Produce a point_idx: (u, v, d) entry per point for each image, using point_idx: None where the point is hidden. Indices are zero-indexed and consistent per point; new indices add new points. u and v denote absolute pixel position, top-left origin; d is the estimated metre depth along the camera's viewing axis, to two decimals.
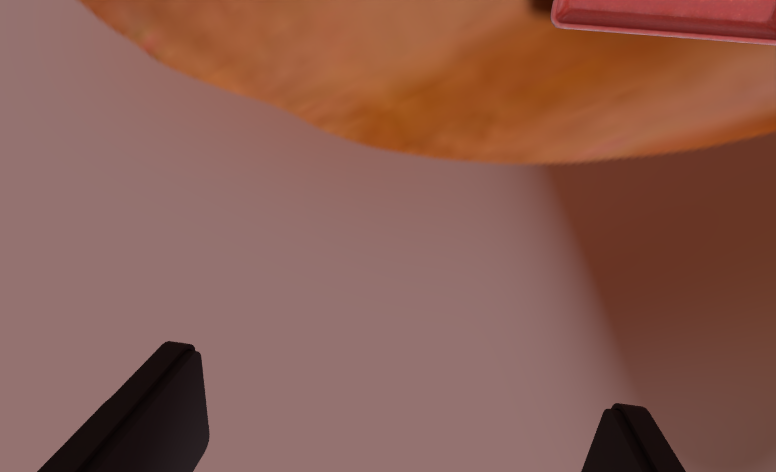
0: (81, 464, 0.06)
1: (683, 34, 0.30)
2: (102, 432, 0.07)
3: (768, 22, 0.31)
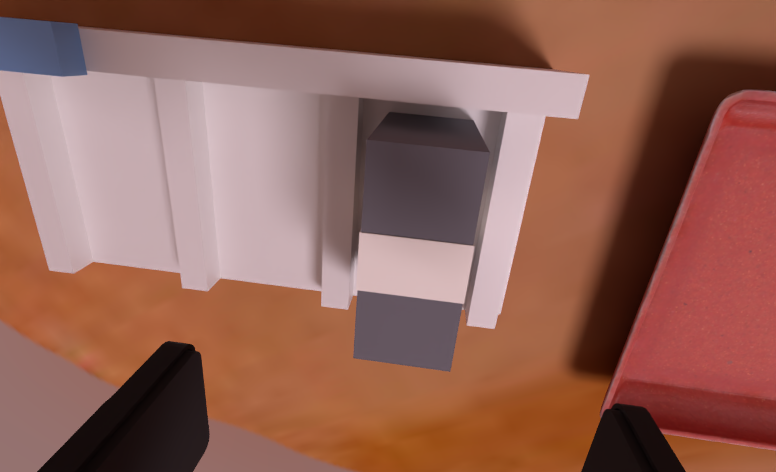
0: (82, 464, 0.06)
1: None
2: (102, 432, 0.07)
3: None
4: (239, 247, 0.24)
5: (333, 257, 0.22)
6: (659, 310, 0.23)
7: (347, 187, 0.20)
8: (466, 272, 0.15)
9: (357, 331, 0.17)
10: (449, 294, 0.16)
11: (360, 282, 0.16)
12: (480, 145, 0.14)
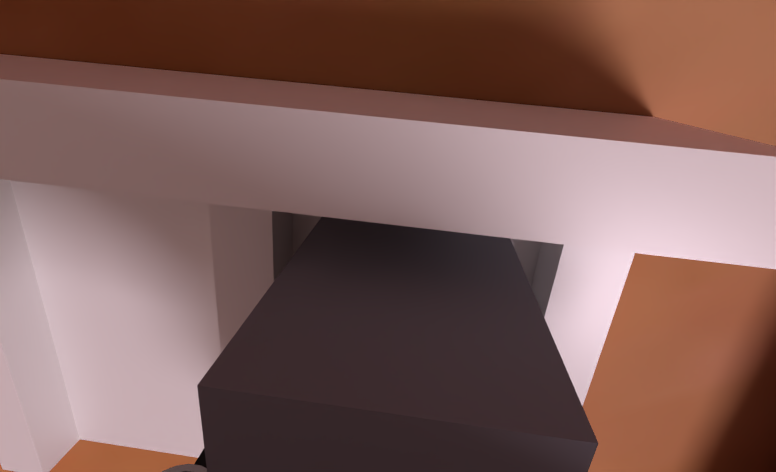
0: None
1: None
2: None
3: None
4: (103, 397, 0.14)
5: None
6: None
7: None
8: None
9: None
10: None
11: None
12: (549, 370, 0.05)
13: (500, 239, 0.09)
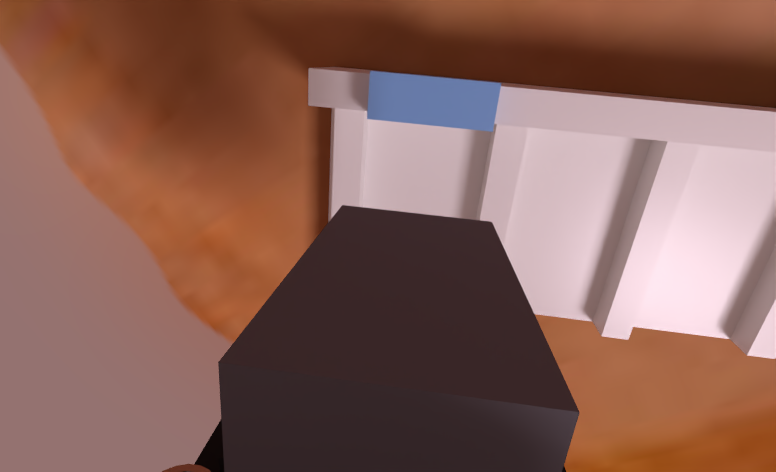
0: None
1: None
2: None
3: None
4: None
5: (628, 290, 0.23)
6: None
7: (663, 226, 0.21)
8: None
9: None
10: None
11: None
12: (537, 354, 0.05)
13: (493, 246, 0.09)
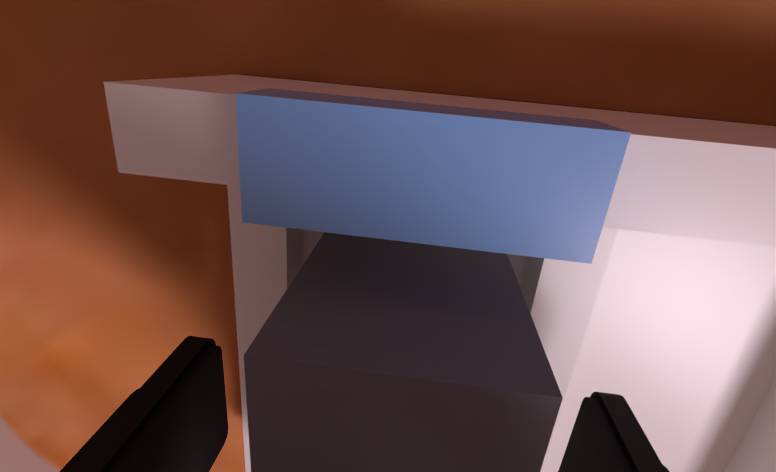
0: (115, 452, 0.07)
1: None
2: (133, 422, 0.07)
3: None
4: None
5: None
6: None
7: None
8: None
9: None
10: None
11: None
12: (527, 345, 0.06)
13: None
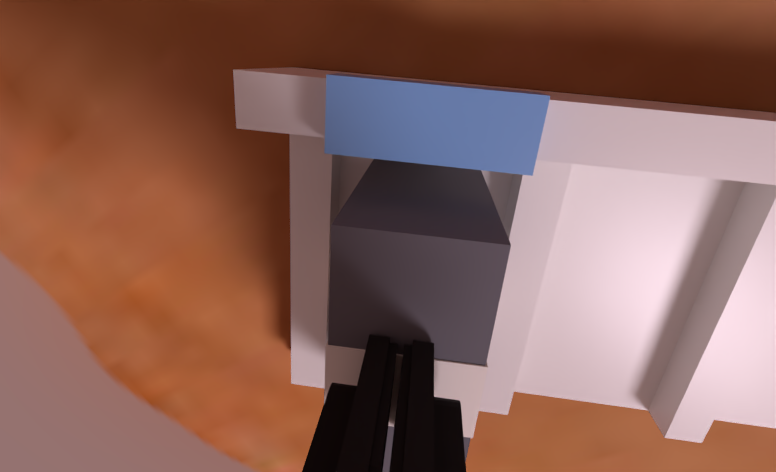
0: (373, 440, 0.07)
1: None
2: (370, 413, 0.08)
3: None
4: (542, 355, 0.18)
5: (707, 381, 0.16)
6: None
7: (765, 297, 0.15)
8: (476, 399, 0.11)
9: None
10: None
11: None
12: (495, 227, 0.10)
13: (479, 182, 0.14)
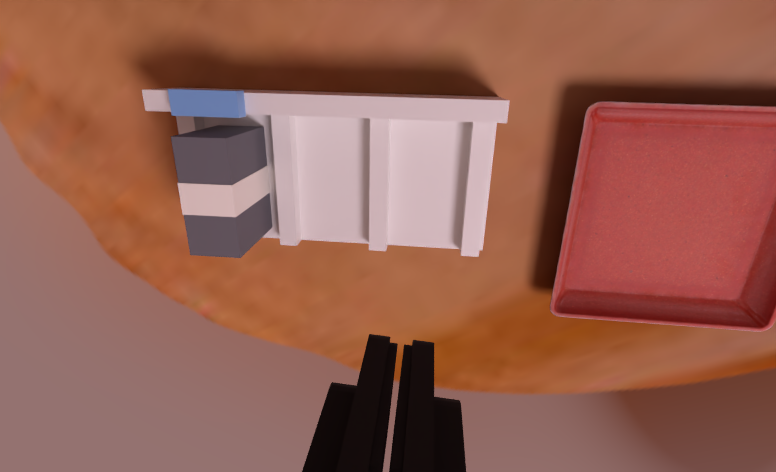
0: (373, 440, 0.07)
1: (664, 322, 0.36)
2: (370, 413, 0.08)
3: (737, 301, 0.37)
4: (314, 217, 0.38)
5: (376, 217, 0.36)
6: (581, 239, 0.36)
7: (383, 172, 0.34)
8: (231, 199, 0.31)
9: (189, 238, 0.32)
10: (227, 212, 0.31)
11: (184, 210, 0.31)
12: (229, 136, 0.30)
13: (251, 129, 0.34)
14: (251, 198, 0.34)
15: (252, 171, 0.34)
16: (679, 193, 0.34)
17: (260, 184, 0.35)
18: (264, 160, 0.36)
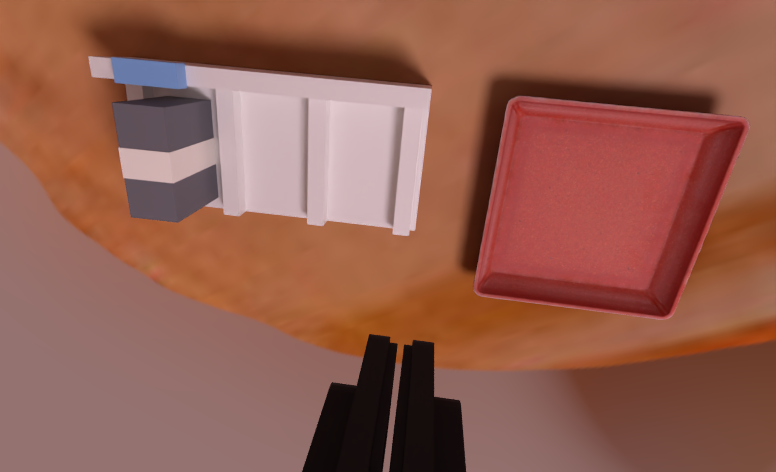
0: (373, 440, 0.07)
1: (576, 307, 0.39)
2: (370, 413, 0.08)
3: (646, 291, 0.40)
4: (258, 190, 0.40)
5: (314, 192, 0.38)
6: (506, 225, 0.39)
7: (321, 150, 0.36)
8: (169, 166, 0.32)
9: (129, 201, 0.34)
10: (165, 178, 0.33)
11: (124, 173, 0.33)
12: (168, 106, 0.32)
13: (196, 101, 0.35)
14: (193, 167, 0.36)
15: (195, 141, 0.35)
16: (595, 187, 0.37)
17: (205, 155, 0.37)
18: (210, 132, 0.38)
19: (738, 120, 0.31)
